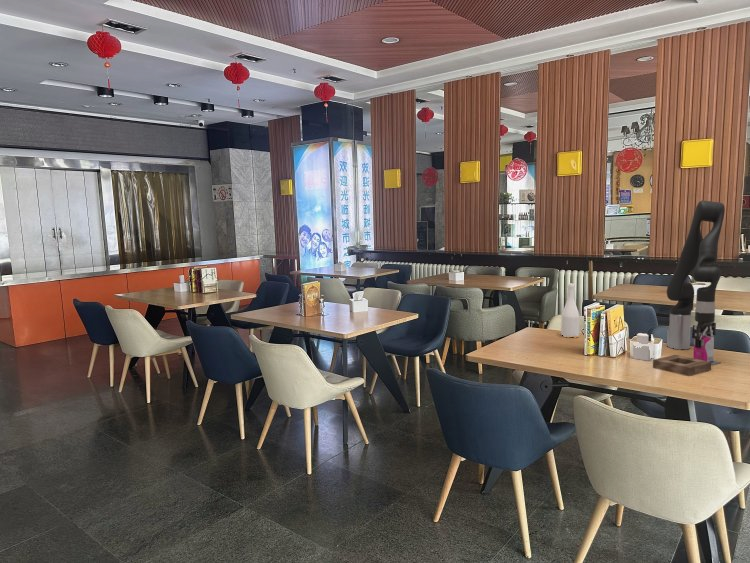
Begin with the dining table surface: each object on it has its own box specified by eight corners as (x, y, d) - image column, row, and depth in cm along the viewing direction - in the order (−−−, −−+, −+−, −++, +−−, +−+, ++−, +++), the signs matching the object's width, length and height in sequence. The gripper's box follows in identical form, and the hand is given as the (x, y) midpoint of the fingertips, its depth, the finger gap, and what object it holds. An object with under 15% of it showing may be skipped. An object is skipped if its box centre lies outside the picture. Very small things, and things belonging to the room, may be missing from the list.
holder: (652, 367, 235) (653, 359, 234) (674, 362, 242) (674, 354, 242) (689, 376, 221) (689, 367, 220) (711, 370, 229) (711, 362, 228)
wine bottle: (562, 338, 297) (563, 284, 294) (559, 334, 306) (560, 282, 303) (580, 338, 296) (581, 284, 292) (577, 334, 305) (578, 282, 302)
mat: (685, 361, 243) (685, 360, 243) (698, 358, 248) (698, 357, 248) (708, 366, 234) (708, 365, 234) (720, 363, 239) (720, 362, 239)
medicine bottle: (638, 355, 256) (638, 331, 254) (654, 358, 250) (654, 333, 249) (632, 358, 251) (633, 333, 249) (648, 361, 246) (649, 335, 244)
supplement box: (701, 359, 245) (702, 334, 244) (713, 362, 240) (714, 337, 238) (692, 360, 243) (693, 335, 242) (704, 363, 238) (705, 338, 236)
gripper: (705, 308, 245) (704, 343, 247) (687, 311, 239) (685, 347, 240) (722, 310, 239) (721, 346, 241) (704, 313, 232) (702, 350, 234)
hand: (703, 346), depth 241 cm, fingers open, 8 cm apart
